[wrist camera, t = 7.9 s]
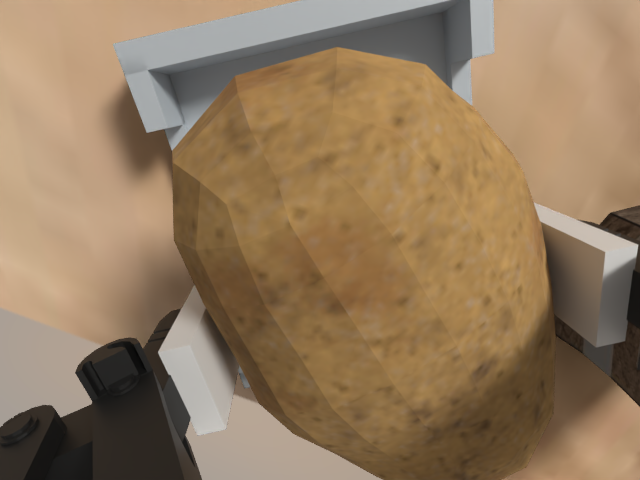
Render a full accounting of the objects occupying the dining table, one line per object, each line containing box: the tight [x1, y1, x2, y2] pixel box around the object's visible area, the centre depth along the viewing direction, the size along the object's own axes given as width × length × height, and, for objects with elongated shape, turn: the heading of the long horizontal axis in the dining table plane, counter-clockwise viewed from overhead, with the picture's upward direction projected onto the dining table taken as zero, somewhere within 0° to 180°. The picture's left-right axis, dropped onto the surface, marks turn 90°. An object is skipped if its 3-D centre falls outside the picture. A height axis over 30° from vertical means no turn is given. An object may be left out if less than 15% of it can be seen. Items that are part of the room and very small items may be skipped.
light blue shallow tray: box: [113, 0, 494, 388], centre depth 20 cm, size 19×16×4 cm
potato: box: [172, 47, 556, 480], centre depth 11 cm, size 10×14×8 cm
